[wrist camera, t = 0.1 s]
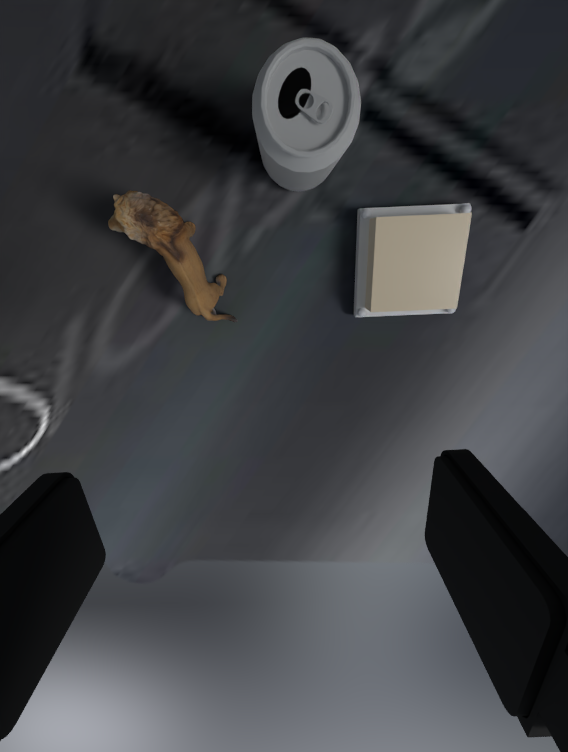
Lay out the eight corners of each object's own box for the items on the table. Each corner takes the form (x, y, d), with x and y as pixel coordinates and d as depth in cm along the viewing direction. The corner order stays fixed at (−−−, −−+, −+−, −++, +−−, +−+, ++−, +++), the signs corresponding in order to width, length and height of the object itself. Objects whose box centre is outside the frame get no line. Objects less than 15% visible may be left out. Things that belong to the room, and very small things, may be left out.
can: (284, 83, 30) (287, -12, 19) (352, 132, 31) (391, 72, 20) (246, 165, 32) (229, 124, 21) (310, 208, 34) (325, 190, 23)
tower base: (357, 209, 34) (366, 205, 30) (463, 204, 34) (484, 200, 30) (353, 314, 38) (360, 322, 35) (448, 310, 38) (464, 317, 35)
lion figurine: (131, 220, 34) (83, 212, 26) (169, 187, 33) (132, 168, 25) (220, 332, 39) (204, 357, 30) (256, 306, 38) (250, 324, 29)
